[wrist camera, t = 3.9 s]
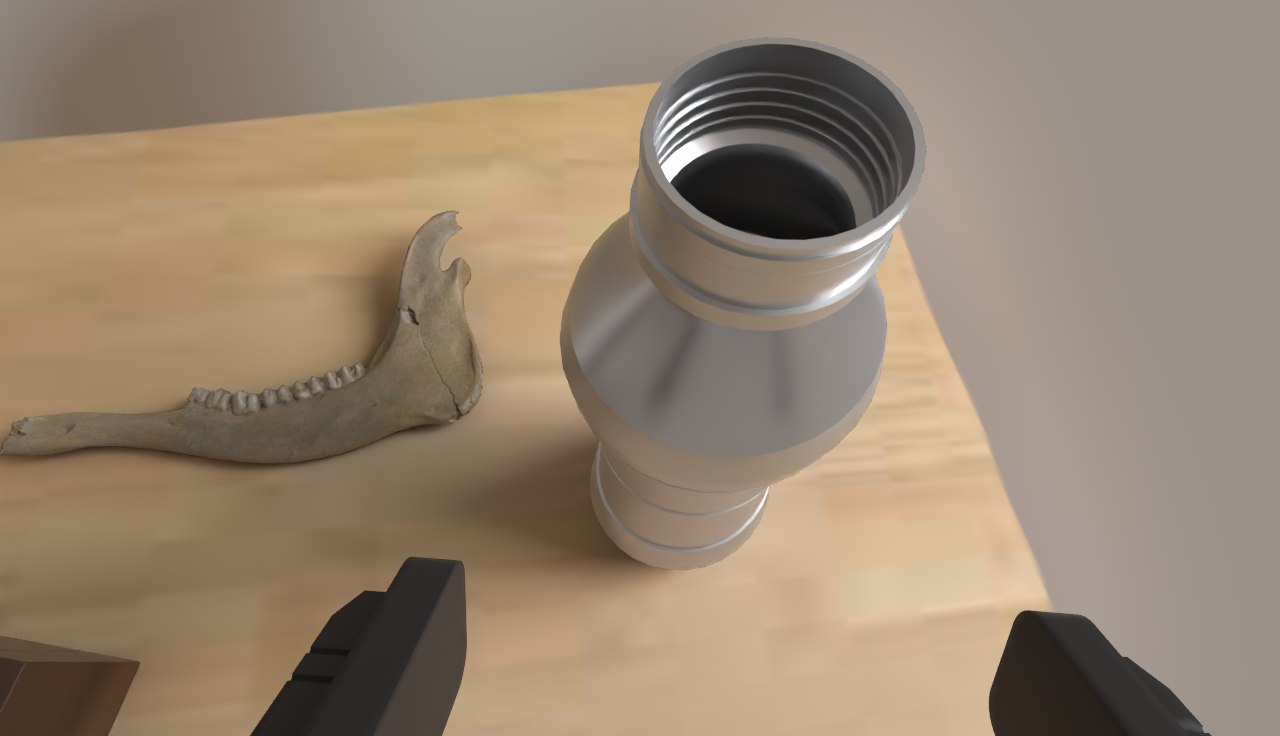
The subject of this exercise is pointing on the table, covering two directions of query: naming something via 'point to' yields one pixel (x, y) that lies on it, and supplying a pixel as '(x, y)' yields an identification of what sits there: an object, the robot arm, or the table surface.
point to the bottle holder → (59, 689)
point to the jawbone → (314, 387)
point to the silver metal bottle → (738, 291)
